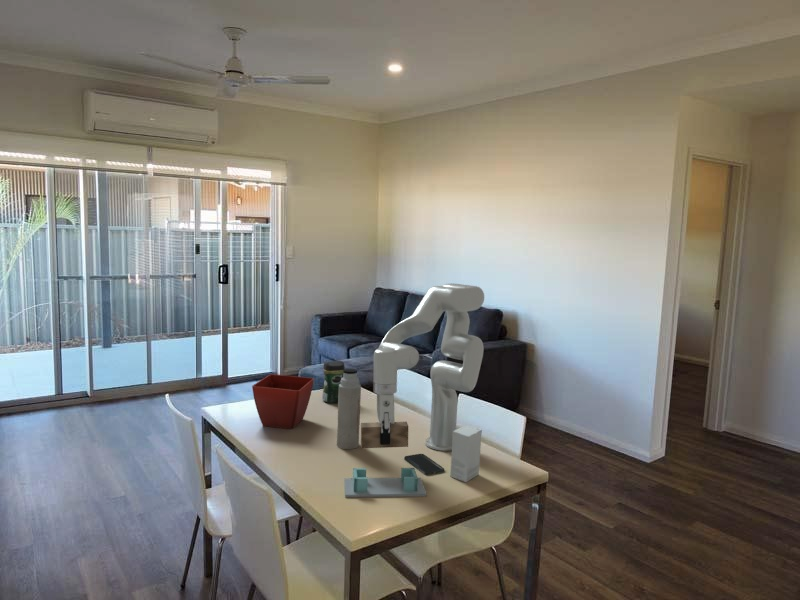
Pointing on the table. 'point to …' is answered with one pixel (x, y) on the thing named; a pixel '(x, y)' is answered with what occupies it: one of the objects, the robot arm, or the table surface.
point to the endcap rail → (384, 485)
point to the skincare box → (465, 453)
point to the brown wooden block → (372, 435)
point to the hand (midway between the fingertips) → (384, 440)
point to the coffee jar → (332, 380)
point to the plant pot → (282, 399)
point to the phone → (424, 464)
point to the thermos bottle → (349, 410)
